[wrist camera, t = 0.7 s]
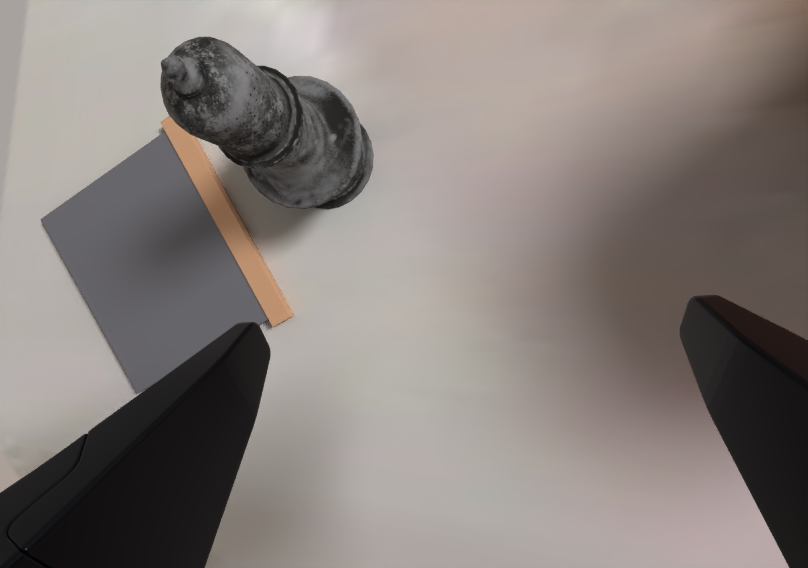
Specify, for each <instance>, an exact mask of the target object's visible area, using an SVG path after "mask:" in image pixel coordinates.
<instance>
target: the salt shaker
mask: <svg viewBox="0 0 808 568" xmlns="http://www.w3.org/2000/svg"><path fill="white" fill-rule="evenodd" d="M161 67H162V74H161V92H162V97H163V102H164V105H165V107H166V109H167V112H168V114H169V115H170V117H171V118H172V119H173V120H174V122H175V123H176V124H177V125H178V126H180V127H181V128H182V129H184V130H185V131H186V132H188V133H189V134H190V135H193V136H195V137H198V138H200V139H203V140H205V141H208V142H210V143H213V144H216V145H218V146H219V148H220V149H221V150H222V152H223V153H224V154H225V155H226V157H228V158H229V159H230V160H232V161H233V162H234V163H236V164H238V165H241V166H243V167H244V169H245V171H246V173H247V175H248V177H249V180H250V181H251V182H252V183H253V185H254V186H255V187H256V188H257V190H258V191H259V192H260V193H261V194H263V195H264V196H265V197H267V198H268V199H270V200H271V201H272V202H274V203H277V204H280V205H283V206H285V207H288V208H301V209H306V208H310V207H316V208H327V209H329V208H334V207H339V206H342V205H344V204H346V203H348V202H350V201H352V200H353V199H354V198H355V197H356V196H357V195H358V194H359V193H361V191H362V190H363V188H364V187H365V185H366V184H367V182H368V180H369V177H370V174H371V171H372V168H373V150H372V144H371V141H370V139H369V136H368V134H367V132H366V130H365V129H364V128H363V126H362V125H361V124H360V123H359V119H358V117H357V115H356V113H355V111H354V109H353V106H352V105H351V103H350V102H349V101H348V100H347V99H346V97H345V96H344V95H343V94H342V93H341V91H339V90H338V89H336V88H335V87H334V86H332V85H331V84H329V83H328V82H326V81H323V80H320V79H317V78H314V77H311V76H293V77H289V78H287V77H286V76H285V75H283V74H282V73H280V72H279V71H277V70H276V69H273V68H270V67H266V66H256V65H255V64H254V63H252V62H251V61H250V60H249V59H248V58H246V57H245V56H244V55H243V54H242V53H240V52H239V51H238V50H237V49H235V48H234V47H232V46H231V45H230V44H228V43H226V42H224V41H221V40H218V39H215V38H212V37H197V38H194V39H191V40H188V41H186V42H184V43H182V44H181V45H179V46H178V47H176V48H175V49H174V50H173V52H172V53H171V54H170V55H169V56H168V58H165V59H164V60H162V61H161Z"/></svg>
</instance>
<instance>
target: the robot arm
mask: <svg viewBox="0 0 808 568" xmlns="http://www.w3.org/2000/svg"><path fill="white" fill-rule="evenodd" d="M680 338H681V341H682V344H683V346H684V349H685V352H686V354H687V357H688V360H689V362H690V365H691V368H692V370H693V373H694V376H695V378H696V381H697V384H698V386H699V389H700V392H701V394H702V397H703V399H704V402H705V404H706V407H707V409H708V411H709V413H710V415H711V417H712V419H713V421H714V423H715V425H716V427H717V429H718V431H719V433H720V435H721V437H722V439H723V441H724V443H725V445H726V446H727V448H728V450H729V452H730V454H731V456H732V458H733V460H734V462H735V464H736V466H737V468H738V470H739V472H740V473H741V475H742V477H743V479H744V481H745V483H746V485H747V487H748V489H749V491H750V493H751V495H752V497H753V499H754V500H755V502H756V504H757V506H758V508H759V510H760V512H761V514H762V516H763V518H764V520H765V522H766V524H767V526H768V527H769V529H770V531H771V533H772V535H773V537H774V539H775V541H776V543H777V545H778V547H779V549H780V551H781V553H782V554H783V556H784V558H785V560H786V562H787V564H788V566H789V568H808V340H806V339H804V338H802V337H800V336H798V335H796V334H794V333H792V332H790V331H788V330H786V329H784V328H782V327H780V326H778V325H776V324H774V323H772V322H770V321H768V320H766V319H764V318H762V317H760V316H758V315H756V314H754V313H752V312H750V311H748V310H746V309H744V308H742V307H740V306H738V305H736V304H734V303H732V302H730V301H728V300H726V299H724V298H722V297H720V296H718V295H702V296H694V297H692V298H691V299H690V300H689V302H688V305H687V308H686V311H685V314H684V317H683V320H682V323H681V326H680ZM269 361H270V347H269V345H268V343H267V341H266V338H265V336H264V334H263V332H262V330H261V328H260V326H259V325H258V324H257V323H256V322H241V323H237V324H236V325H234V326H233V327H232V328H230V329H229V330H227V331H226V332H225V333H223V334H222V335H221V336H219V337H218V338H216V339H215V340H214V341H212V342H211V343H210V344H208V345H207V346H205V347H204V348H203V349H201V350H200V351H199V352H197V353H196V354H194V355H193V356H192V357H190V358H189V359H187V360H186V361H185V362H183V363H182V364H181V365H179V366H178V367H176V368H175V369H174V370H172V371H171V372H170V373H168V374H167V375H165V376H164V377H163V378H161V379H160V380H159V381H157V382H156V383H154V384H153V385H152V386H150V387H149V388H148V389H146V390H145V391H143V392H142V393H141V394H139V395H138V396H137V397H135V398H134V399H132V400H131V401H130V402H128V403H127V404H126V405H124V406H123V407H121V408H120V409H119V410H117V411H116V412H114V413H113V414H112V415H110V416H109V417H108V418H106V419H105V420H103V421H102V422H101V423H99V424H98V425H97V426H95V427H94V428H92V429H91V430H90V431H89V432H88V434H84V435H83V436H81V437H80V438H79V439H77V440H76V441H74V442H73V443H72V444H70V445H69V446H68V447H66V448H65V449H63V450H62V451H61V452H59V453H58V454H56V455H55V456H54V457H52V458H51V459H49V460H48V461H46V462H45V463H44V464H42V465H41V466H39V467H38V468H37V469H35V470H34V471H32V472H31V473H29V474H28V475H26V476H25V477H23V478H22V479H20V480H19V481H17V482H16V483H14V484H13V485H11V486H10V487H8V488H7V489H5V490H4V491H2V492H1V493H0V568H205V565H206V562H207V559H208V557H209V554H210V551H211V548H212V545H213V542H214V539H215V536H216V533H217V530H218V528H219V525H220V522H221V519H222V516H223V513H224V510H225V507H226V504H227V501H228V499H229V496H230V493H231V490H232V487H233V484H234V481H235V478H236V475H237V472H238V470H239V467H240V464H241V461H242V458H243V455H244V452H245V449H246V446H247V443H248V440H249V438H250V435H251V432H252V429H253V426H254V423H255V420H256V416H257V413H258V409H259V405H260V400H261V396H262V391H263V387H264V383H265V378H266V374H267V369H268V365H269Z"/></svg>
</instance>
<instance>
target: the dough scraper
mask: <svg viewBox="0 0 808 568" xmlns="http://www.w3.org/2000/svg"><path fill="white" fill-rule="evenodd" d="M160 123H161V125H162V126H163V128H164V130H165V132H164V133H162V134H161V135H159V136H158V137H157V138H155V139H154V140H152V141H151V142H149V143H148V144H147V145H145V146H144V147H142V148H141V149H140V150H138V151H137V152H135V153H134V154H133V155H131V156H130V157H128V158H127V159H125V160H124V161H123V162H121V163H120V164H118V165H117V166H116V167H114V168H113V169H111V170H110V171H108V172H107V173H106V174H104V175H103V176H101V177H100V178H99V179H97V180H96V181H94V182H93V183H92V184H90V185H89V186H87V187H86V188H84V189H83V190H82V191H80V192H79V193H77V194H76V195H75V196H73V197H72V198H70V199H69V200H67V201H66V202H65V203H63V204H62V205H60V206H59V207H58V208H56V209H55V210H53V211H52V212H51V213H49V214H48V215H46V216H45V217H43V218H42V219H41V222H42V223H43V225H44V227H45V229H46V231H47V232H48V234H49V236H50V238H51V240H52V241H53V243H54V245H55V247H56V249H57V250H58V252H59V254H60V256H61V258H62V259H63V261H64V263H65V265H66V267H67V269H68V270H69V272H70V274H71V276H72V278H73V279H74V281H75V283H76V285H77V287H78V288H79V290H80V292H81V294H82V296H83V297H84V299H85V301H86V303H87V305H88V306H89V308H90V310H91V312H92V314H93V315H94V317H95V319H96V321H97V323H98V324H99V326H100V328H101V330H102V332H103V333H104V335H105V337H106V339H107V341H108V342H109V344H110V346H111V348H112V350H113V351H114V353H115V355H116V357H117V359H118V361H119V362H120V364H121V366H122V368H123V370H124V371H125V373H126V375H127V377H128V379H129V380H130V382H131V384H132V386H133V388H134V389H135V391H136V393H139V392H141V391H143V390H145V389H146V388H148V387H150V386H152V385H153V384H154V383H156V382H157V381H159V380H160V379H161V378H163V377H164V376H165V375H167V374H168V373H170V372H171V371H172V370H174V369H175V368H176V367H178V366H179V365H181V364H182V363H183V362H185V361H186V360H187V359H189V358H190V357H192V356H193V355H194V354H196V353H197V352H199V351H200V350H201V349H203V348H204V347H205V346H207V345H208V344H210V343H211V342H212V341H214V340H215V339H216V338H218V337H219V336H221V335H222V334H223V333H225V332H226V331H227V330H229V329H230V328H232V327H233V326H234V325H236V324H237V323H241V322H256V323H257V324H258V325H260V324H262V323H264V322H265V321H267V320H269V321H270V323H271V325H272V327H273V326H276V325H278V324H280V323H281V322H283V321H285V320H287V319H289V318H290V317H292V316H294V315H293V313H292V311H291V310H290V308H289V306H288V304H287V302H286V300H285V299H284V297H283V295H282V293H281V291H280V290H279V288H278V286H277V284H276V282H275V280H274V279H273V277H272V275H271V273H270V271H269V270H268V268H267V266H266V264H265V262H264V260H263V259H262V257H261V255H260V253H259V251H258V249H257V248H256V246H255V244H254V242H253V240H252V239H251V237H250V235H249V233H248V231H247V229H246V228H245V226H244V224H243V222H242V220H241V218H240V217H239V215H238V213H237V211H236V209H235V208H234V206H233V204H232V202H231V200H230V198H229V197H228V195H227V193H226V191H225V189H224V187H223V186H222V184H221V182H220V180H219V178H218V177H217V175H216V173H215V171H214V169H213V167H212V166H211V164H210V162H209V160H208V158H207V156H206V155H205V153H204V151H203V149H202V147H201V146H200V144H199V142H198V140H197V138H196V137H195V136H193V135H190V134H189V133H188V132H186V131H185V130H184V129H182V128H181V127H180V126H178V125H177V124H176V123H175V122H174V120H173V119H172V118H171V117H170V116H169V117H167V118H166V119H164V120H163V121H162V122H160Z"/></svg>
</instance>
